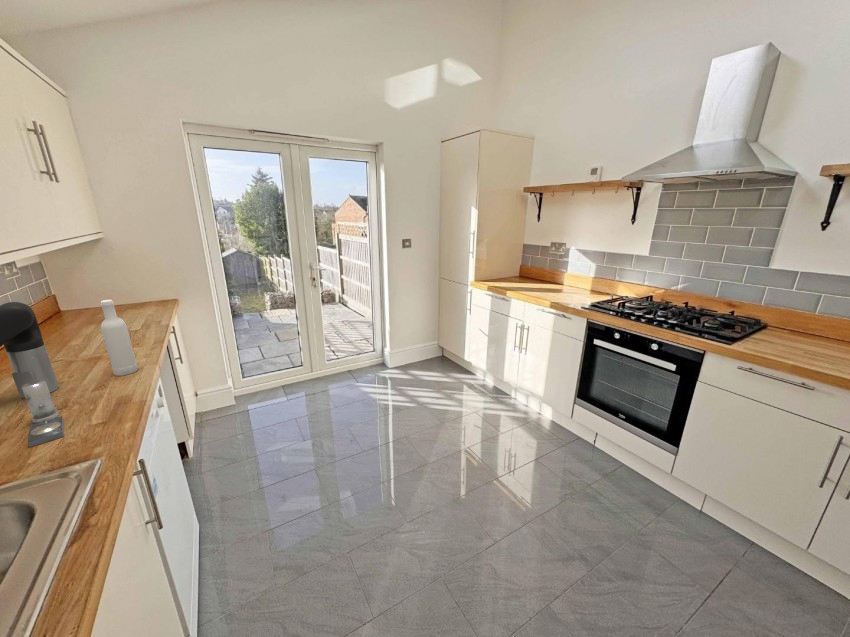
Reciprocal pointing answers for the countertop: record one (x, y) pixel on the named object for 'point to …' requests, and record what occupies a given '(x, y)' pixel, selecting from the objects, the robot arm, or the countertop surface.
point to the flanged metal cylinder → (39, 401)
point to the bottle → (117, 341)
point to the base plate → (46, 431)
